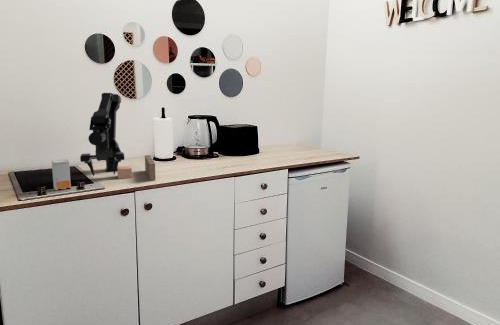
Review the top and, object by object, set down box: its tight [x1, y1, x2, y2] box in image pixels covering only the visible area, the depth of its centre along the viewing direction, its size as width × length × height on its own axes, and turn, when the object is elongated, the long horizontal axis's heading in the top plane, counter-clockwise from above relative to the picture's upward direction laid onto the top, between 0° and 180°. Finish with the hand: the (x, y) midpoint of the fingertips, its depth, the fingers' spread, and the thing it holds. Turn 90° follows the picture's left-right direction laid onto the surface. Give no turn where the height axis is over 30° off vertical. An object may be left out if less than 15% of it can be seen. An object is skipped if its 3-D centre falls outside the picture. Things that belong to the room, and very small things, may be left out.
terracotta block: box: [116, 165, 133, 180], centre depth 173 cm, size 6×6×4 cm
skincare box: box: [51, 158, 72, 191], centre depth 151 cm, size 6×4×12 cm
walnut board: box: [144, 154, 156, 181], centre depth 177 cm, size 21×2×8 cm, turn 21°
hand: (103, 174), depth 170 cm, fingers open, 8 cm apart
